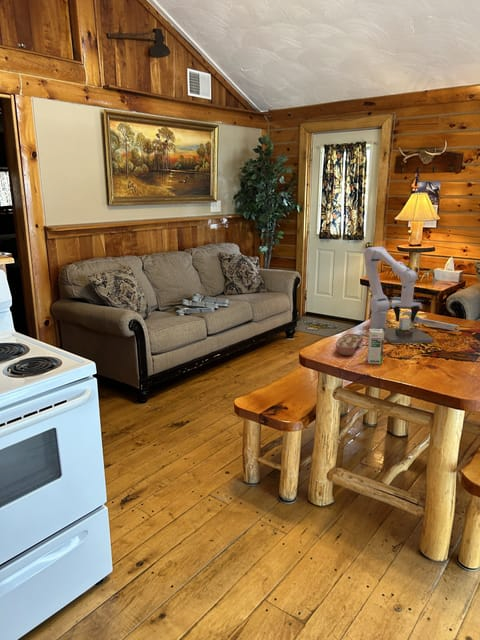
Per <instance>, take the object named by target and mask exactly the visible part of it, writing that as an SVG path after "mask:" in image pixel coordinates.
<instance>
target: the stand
mask: <svg viewBox="0 0 480 640" xmlns="http://www.w3.org/2000/svg"><path fill="white" fill-rule="evenodd" d="M376 329H383V331H384V341H386V342H388V343H389V344H423V343H424V344H431V343H432V344H433V343H435V339H434V338H432V337H431V336H430V335H428V334H427V333H426V332H424V331H422V330H421V329H419V328H418V327H415V326H410V330H401V329H399V327H386V328H376Z"/></svg>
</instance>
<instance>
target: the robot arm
mask: <svg viewBox="0 0 480 640" xmlns="http://www.w3.org/2000/svg"><path fill="white" fill-rule="evenodd" d="M363 257H364V265H365V267H364V268H365V270H366V275H367V279H368V282H369V287H370V291H371V295H372V296H371V298H370V299H369V302H370V303H369V304H370V305H369V309H370V311H371V314H370V318H369V319H370V320H369V322H370V324H368V327H369V329H376V328H387V313H388V311H389V310H390V309H391V308H392V310H393V312H394V315H395V321H396V322H398V323H399V321H400V314H401V310H402V309H400V308H410V309H411V311H410V312H411V321H414V319H415V316H417V314H418V313H419V311H420V308H422V303H421V302H414V293H415V284H416V283H415V282H416V281H417V280H418V277H419V275H418V273H417V271H416V270H414V269H410V268H409V267H408V266H406V265H405V264H404V262H402V261H397V260H396V259H394V257H392V256H391V255H390V253H389V252H388V250H387V249H386V248H385V247H384V246H371V247H370V246H369V247H367V248H365V250H364V252H363ZM381 260H382V261H384V263H386V264H387V265H389V266H390V267H391V271H392V272H394V273H395V274H396V275H397V276H398V277H399V279H400V282H401V283H400V284H401V294H400V295H401V296H400V302H390V301H389V299H388V296H386V294H384V292H383V289H382V288H383V287H382V284H381V280H380V275H379V272H378V268H377V265H378V263H379V262H381Z"/></svg>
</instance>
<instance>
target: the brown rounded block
mask: <svg viewBox="0 0 480 640" xmlns="http://www.w3.org/2000/svg"><path fill="white" fill-rule="evenodd" d="M363 340H364V336H363V335H361V334H357V333H345V334H344V335H342V336H340V337H339V338H338V339H337V340H336V343H335V348H336V351H337V352H338V353H339V354H340V355H342V356H351V355H352V354H353V353H355V351H356V349H357V347H358V346H360V345H361V344H363Z"/></svg>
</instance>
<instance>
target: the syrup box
mask: <svg viewBox="0 0 480 640" xmlns="http://www.w3.org/2000/svg"><path fill="white" fill-rule="evenodd" d="M384 341H385V339H384V331H383V329H371V328H369V329H368V344H367V357H366V360H367V362H368V364H370V365H371V364H372V365H373V364H375V365H382V364H383V358H384V357H383V355H384V354H383V353H384Z"/></svg>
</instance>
